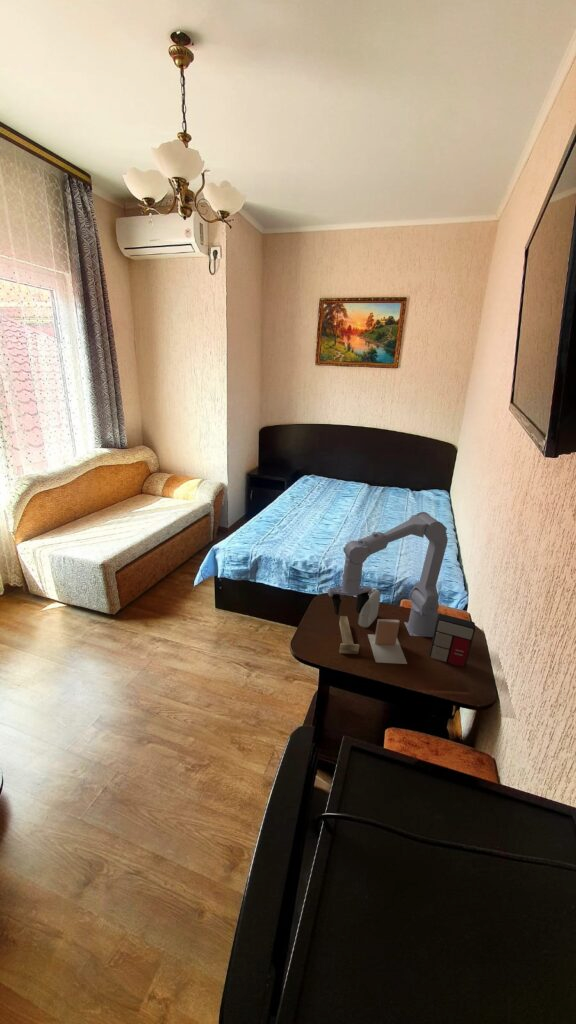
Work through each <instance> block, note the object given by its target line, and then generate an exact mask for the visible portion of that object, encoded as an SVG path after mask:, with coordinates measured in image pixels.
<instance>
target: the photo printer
mask: <svg viewBox="0 0 576 1024" xmlns="http://www.w3.org/2000/svg"><path fill="white" fill-rule="evenodd" d="M368 595H369V600H368V601H367V602H366V603H365V604H364V606H363V608H362V610H361V612H360V613H359V615H358V619H357V624H358V625H359V626H360V627H361V628H367V629H368V628H369V627H370V626H371V625H372V624H373V623H374V621H375V620H376V619H377V617H378V613H379V607H380V600H381V592H380V590H379V589H376V588H372V593H371V594H368Z"/></svg>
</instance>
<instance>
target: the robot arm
mask: <svg viewBox="0 0 576 1024" xmlns="http://www.w3.org/2000/svg"><path fill="white" fill-rule="evenodd" d="M411 535H413V536H416V537H419V538H424V537H426V540H427V541H428V546H427V550H426V554H425V557H424V562H423V567H422V569H421V574H420V578H419V582H418V581H417V582H415V583H414V586H413V588H412V589H411V590H410V592H409V598H410V600H411V607H410V612H409V613H410V614H409V617H408V621H405V622H403V623H404V625H405V629H406V630H407V633H408V634H409V636H411V637H425V638H426V637H429V638H433V635H434V631H435V626H436V621H437V617H438V614H439V611H438V610H439V607H440V606H439V605H440V604H439V598H440V597H439V593H438V589H437V584H438V579H439V575H440V572H441V570H442V569H441V568H442V564H443V560H444V557H445V552H446V550H447V545H448V541H449V538H448V535H447V526H445V525H444V524H443V522H441V521H439V520H437V519H436V518H434V517H433V516H431V515H430V513H428V512H426V511H420V512H418V513H417V514H414V515H411V516H410V518H409V519H408V520H406V521H404V522H402V523H400V524H398V525H396V526H393V528H391V529H389V530H386V531H385V532H381V531H374V532H371V534H370V535H369V534H368V535H367V536H365V537H363V538H359V539H358V540H350V541H349V542H346V544H345V546H344V547H343V548H342V549H343V553H344V554H345V559H344V560H345V561H344V566H343V567H344V568H343V576H342V582H341V583H342V584H341V585H339V586H335V587H330V588H329V587H328V590H327V594H328V596H329V597H330V598H331V600H332V603H333V610H334V611H333V612H334V613H335V616H339V614H340V607H341V603H342V599H341V596H342V595H343V596H351V597H352V596H355V597H356V606H355V612H357V614H359V613H360V612H361V610H362V608H363V606H364V604H365V603H366V602H367V601H368V600H369V595H368V594H371V593H372V589H373V588H372V587H371V585H361V579H362V573H363V566H364V565H363V564H364V562H366V561H367V559H368V558H369V557H370V556H371V555H373V554H375V553H378V552H380V551H382V550H385V549H387V547H388V546H389V545H388V544H389V543H392V542H394V541H395V542H396V541H397V540H399V539H402V538H405V537H409V536H411Z"/></svg>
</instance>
